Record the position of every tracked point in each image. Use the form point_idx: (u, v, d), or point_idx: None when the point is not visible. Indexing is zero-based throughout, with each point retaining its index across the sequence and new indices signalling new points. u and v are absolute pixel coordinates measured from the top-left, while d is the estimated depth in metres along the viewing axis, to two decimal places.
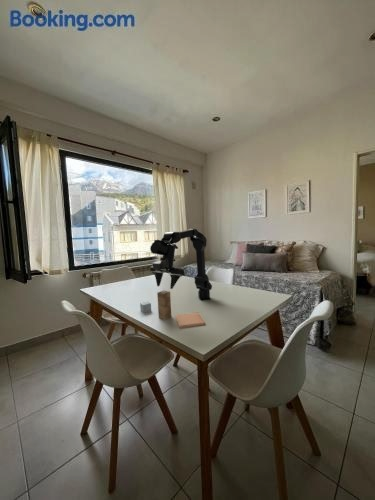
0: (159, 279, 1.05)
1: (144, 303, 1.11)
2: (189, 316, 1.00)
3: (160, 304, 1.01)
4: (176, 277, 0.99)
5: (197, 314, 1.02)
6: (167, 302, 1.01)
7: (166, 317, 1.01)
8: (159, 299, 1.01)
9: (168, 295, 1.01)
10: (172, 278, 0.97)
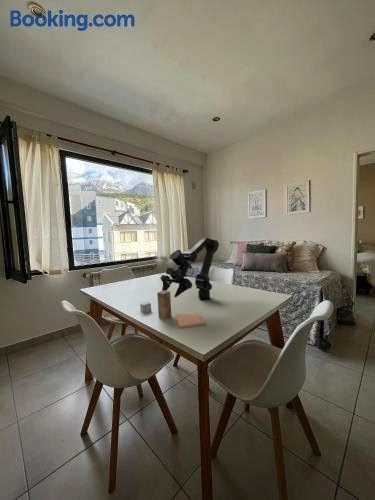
0: (165, 288, 1.09)
1: (144, 303, 1.11)
2: (189, 316, 1.00)
3: (160, 304, 1.01)
4: (183, 288, 1.04)
5: (197, 314, 1.02)
6: (167, 302, 1.01)
7: (166, 317, 1.01)
8: (159, 299, 1.01)
9: (168, 295, 1.01)
10: (179, 287, 1.02)
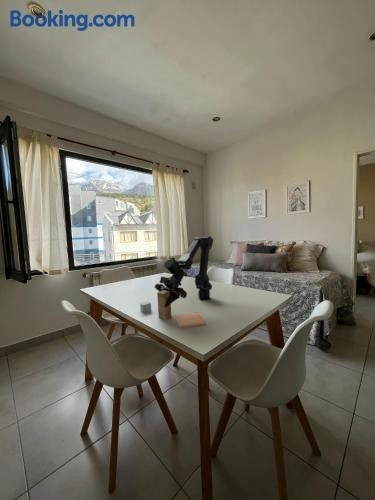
0: None
1: (144, 303, 1.11)
2: (189, 316, 1.00)
3: (160, 304, 1.01)
4: (174, 297, 1.02)
5: (197, 314, 1.02)
6: None
7: (166, 317, 1.01)
8: (159, 299, 1.01)
9: (168, 295, 1.01)
10: (170, 296, 1.01)
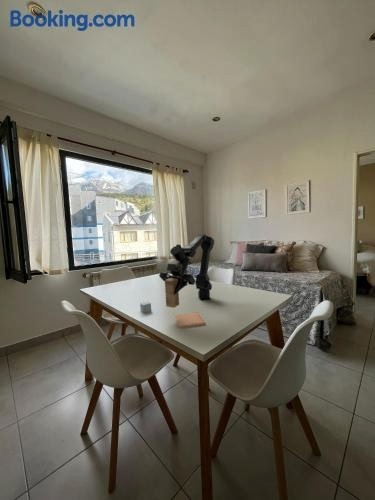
0: None
1: (144, 303, 1.11)
2: (189, 316, 1.00)
3: (168, 292, 0.98)
4: (182, 284, 1.00)
5: (197, 314, 1.02)
6: None
7: (175, 305, 0.98)
8: (166, 287, 0.98)
9: (176, 282, 0.99)
10: (179, 283, 0.98)
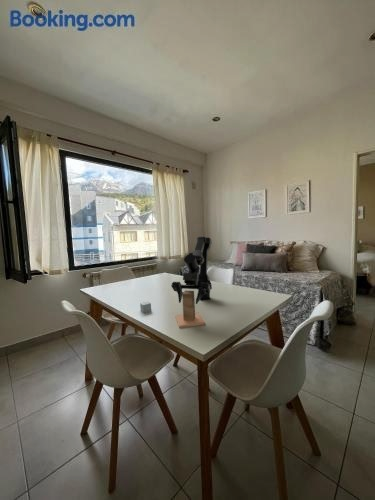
0: (181, 296, 0.99)
1: (144, 303, 1.11)
2: None
3: (186, 305, 0.95)
4: (201, 293, 0.98)
5: (197, 314, 1.02)
6: (193, 302, 0.96)
7: (193, 318, 0.96)
8: (184, 301, 0.95)
9: (193, 295, 0.97)
10: (199, 292, 0.96)
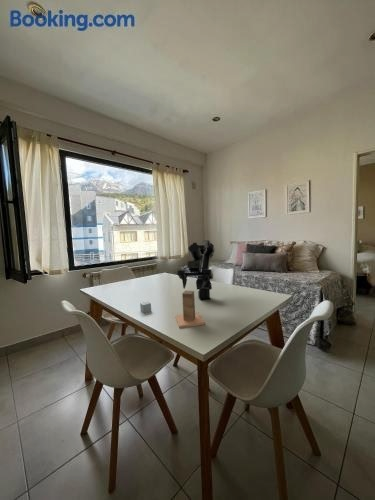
0: (185, 282, 1.08)
1: (144, 303, 1.11)
2: None
3: (186, 305, 0.95)
4: (205, 279, 1.06)
5: (197, 314, 1.02)
6: (193, 302, 0.96)
7: (193, 318, 0.96)
8: (184, 301, 0.95)
9: (193, 295, 0.97)
10: (204, 278, 1.04)
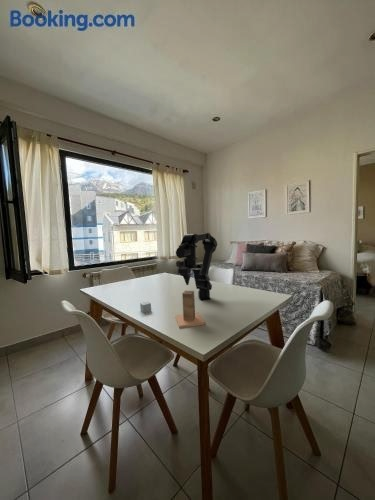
0: (196, 275, 1.20)
1: (144, 303, 1.11)
2: None
3: (186, 305, 0.95)
4: (187, 275, 1.11)
5: (197, 314, 1.02)
6: (193, 302, 0.96)
7: (193, 318, 0.96)
8: (184, 301, 0.95)
9: (193, 295, 0.97)
10: None
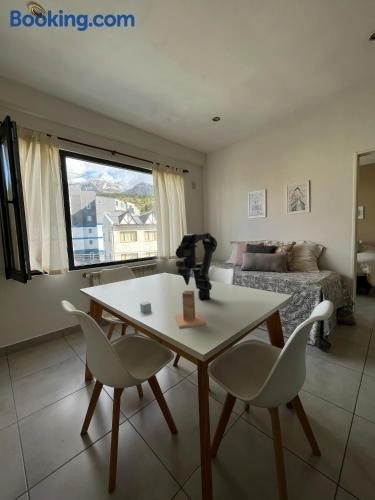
0: (196, 275, 1.20)
1: (144, 303, 1.11)
2: None
3: (186, 305, 0.95)
4: (186, 275, 1.11)
5: (197, 314, 1.02)
6: (193, 302, 0.96)
7: (193, 318, 0.96)
8: (184, 301, 0.95)
9: (193, 295, 0.97)
10: None
